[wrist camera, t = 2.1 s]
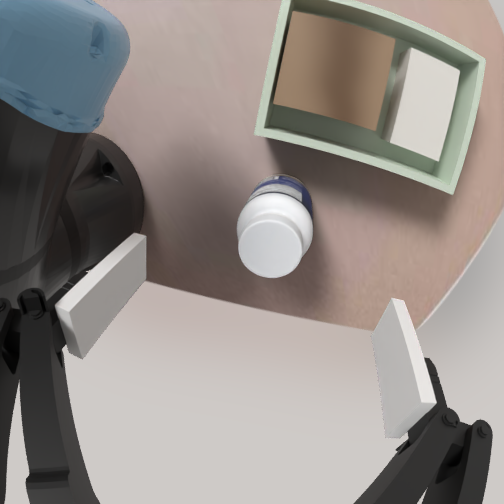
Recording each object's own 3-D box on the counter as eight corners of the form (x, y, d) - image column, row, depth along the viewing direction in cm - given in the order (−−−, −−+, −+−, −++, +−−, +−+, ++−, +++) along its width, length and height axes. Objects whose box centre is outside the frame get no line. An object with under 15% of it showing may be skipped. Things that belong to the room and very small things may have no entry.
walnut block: (279, 104, 22) (273, 103, 18) (295, 28, 19) (292, 10, 15) (362, 126, 22) (375, 131, 18) (379, 50, 19) (395, 39, 14)
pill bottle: (303, 235, 28) (300, 296, 20) (247, 221, 28) (221, 277, 20) (318, 180, 25) (324, 222, 17) (258, 166, 26) (233, 200, 17)
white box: (380, 138, 22) (389, 142, 19) (399, 53, 18) (411, 47, 16) (425, 154, 22) (438, 161, 19) (444, 73, 18) (460, 70, 15)
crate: (262, 129, 24) (253, 134, 20) (289, 4, 18) (285, -15, 14) (432, 180, 23) (452, 195, 19) (461, 63, 17) (486, 59, 13)
